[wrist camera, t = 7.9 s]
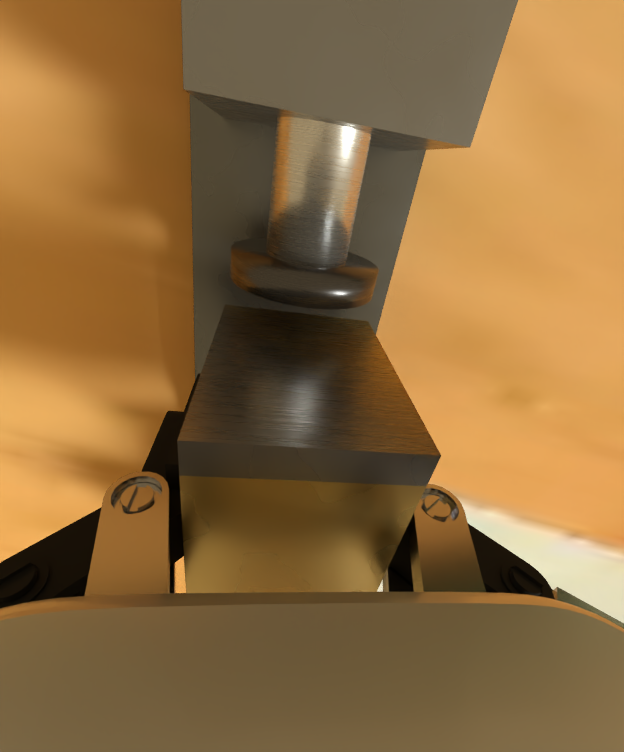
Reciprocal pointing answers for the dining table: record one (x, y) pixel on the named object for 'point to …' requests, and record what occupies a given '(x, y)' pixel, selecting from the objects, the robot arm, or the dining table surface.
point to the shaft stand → (321, 141)
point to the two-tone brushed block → (297, 457)
